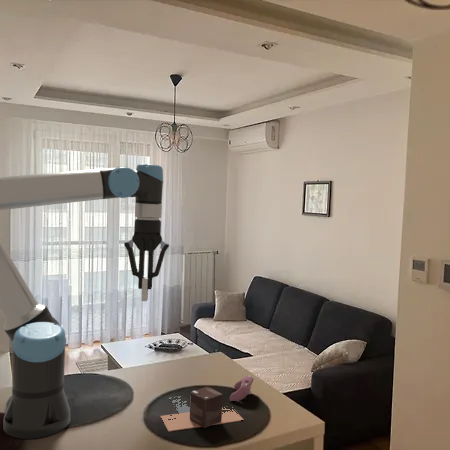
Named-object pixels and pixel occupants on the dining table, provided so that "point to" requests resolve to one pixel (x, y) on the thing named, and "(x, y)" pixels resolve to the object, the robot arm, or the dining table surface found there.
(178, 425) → the t mat
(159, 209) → the robot arm
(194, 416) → the box
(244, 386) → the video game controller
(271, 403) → the dining table surface
